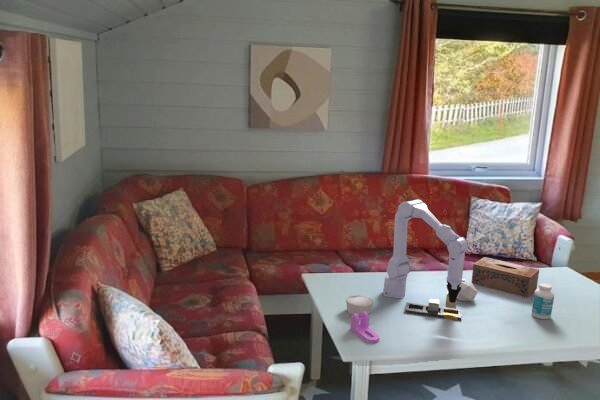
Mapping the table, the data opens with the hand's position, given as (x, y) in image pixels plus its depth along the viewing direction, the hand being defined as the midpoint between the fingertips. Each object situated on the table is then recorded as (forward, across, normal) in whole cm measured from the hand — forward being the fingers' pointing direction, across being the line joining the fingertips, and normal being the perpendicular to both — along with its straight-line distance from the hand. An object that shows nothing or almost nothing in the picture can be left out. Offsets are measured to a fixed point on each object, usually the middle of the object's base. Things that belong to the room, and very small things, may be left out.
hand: (452, 300), depth 220 cm
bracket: (+8, -28, +30) cm, 42 cm away
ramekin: (+8, -8, +36) cm, 38 cm away
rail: (+7, 0, +7) cm, 10 cm away
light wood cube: (+3, 0, 0) cm, 3 cm away
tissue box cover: (+8, +45, -24) cm, 52 cm away
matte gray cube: (+6, 0, +7) cm, 9 cm away
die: (+8, +20, -6) cm, 22 cm away
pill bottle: (+8, +14, -36) cm, 39 cm away
